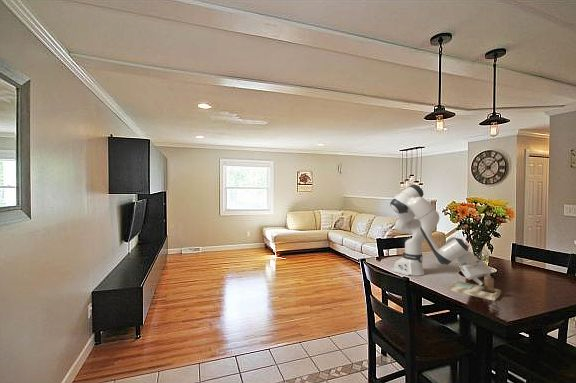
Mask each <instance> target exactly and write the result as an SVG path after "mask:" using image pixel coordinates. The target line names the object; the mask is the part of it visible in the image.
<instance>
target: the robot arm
mask: <svg viewBox="0 0 576 383" xmlns="http://www.w3.org/2000/svg"><path fill="white" fill-rule="evenodd" d="M424 194H425V193H424V190H423V189H422V188H421V186H419V185H417V184H410V185H409V186H408V187H407V188H405V189H403V190H402V191H401V192H400V193H398V194H396V195H394V196H393V199H392V200H391V201H390V203H389V204H390V207H391V209H392V210H393V211H394V212H395V213H397V215H398V217H399V218H398V219H396V221H395V223H394V228H395V230H396V231H397V232H399V233H402V234H407V235H408V234H410V235H412V237H411V238H409V239H406V240H405V242H404V252H402V253H401V256H402V257H400V258H399V259H398V260H396V261H395V262H394V265H393V267H391V268H390V271H391V272H395V273H398V274H402V275H405V276H408V275H411V276H424V275H425V270H424V265H423V258H424V257H423V243H424V240H425V241H426V242H427V244H428V246H429V248H430V249H431V251H432V252H433V255H434V257H435V260H436V261H437V262H438V263H439V264H440V265H447V266H448V265H449V264H451V263H452V262H453V261H455V260H457V262H458V263H459V268H460V271H461V273H462V274H463V275H464V277H465V278H466V279H467V280H468V281H470V280H473V282H475V283H477V285H480V286H484V281H482V280H480V278H482V277H492V276H491V274H492V269H491V267H490V266H488V264H487V263H486V262H484V261H483V257H481V256H480V257H479V256H476V255H474V254H473V253H471V252H470V250H469V247H470V246H469V245H468V244H467V243H466V242H465V240H464V239H462V238H458V237H454V236H453V237H449V238H448V239H447V240H446V241H445V244H444V245H442V246H441V247H439V246H438V245H437V243H436V242H435V240H434V238H433V237H432V234H433V232H434V230H435V229H436V228H437V226H438V224H439V221H440V215H439V212H438V211H437V210H436V209H435V207H434V206H433V205H432V204H431V203H430V202H429V201H428V200H427V199H425V198H424V197H423V196H424ZM415 217H416V218H415Z"/></svg>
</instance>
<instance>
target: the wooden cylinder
mask: <svg viewBox="0 0 576 383" xmlns="http://www.w3.org/2000/svg"><path fill="white" fill-rule="evenodd" d="M494 280H495V279H494V277H492V276H491V277H485V276H483V283H484V284H483V286H484V292H489V293H493V294H494V289H495V287H494V286H495V285H494V283H495V282H494Z"/></svg>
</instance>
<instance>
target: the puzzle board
mask: <svg viewBox="0 0 576 383" xmlns="http://www.w3.org/2000/svg"><path fill="white" fill-rule="evenodd" d="M458 282H463V283H467V284H472V285H474V287H472V288H471V289H468V288H463V287H459V286H455V284H457V283H458ZM448 290H449V292H451V291H452V292H456V293H459V294H463V295H468V296H472V297H476V298H480V299H485V300H488V301H493V302H494V301H496V300H497V299H498V298H499V297H500V295H501V294H502V292H501V291H502V290H501V289H498V288H494V294H493V293H489V292H484V285H479V284H475V283H469V282H464V281H460V280H456V281H454V282H453V283H452V284H450V285H449V286H448Z"/></svg>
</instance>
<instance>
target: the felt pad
mask: <svg viewBox="0 0 576 383" xmlns="http://www.w3.org/2000/svg"><path fill="white" fill-rule="evenodd" d="M463 282H464V281H461V282H458V283H457V284H455V286H459V287H463V288H468V289H471V288H472V287H474V285H472V284H473V283H470V284H467V283H468V282H466V283H463Z"/></svg>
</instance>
